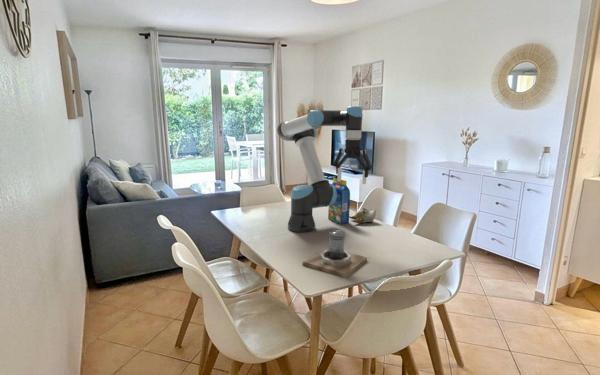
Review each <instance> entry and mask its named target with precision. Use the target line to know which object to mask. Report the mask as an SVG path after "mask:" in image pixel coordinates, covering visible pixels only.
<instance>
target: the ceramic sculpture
mask: <svg viewBox="0 0 600 375" xmlns="http://www.w3.org/2000/svg"><path fill="white" fill-rule="evenodd" d="M376 211H377V209H373V210H371V211H370V210H368V209H367V208H362V209H361V210H360V209H359V210H357V212H356V213H355V215H353V216H350V215H349V219H352V222H353V223H355V224H361V223H362V224H363V223H366V222H370V223H373V222H374V220H375V219H376V213H377V212H376Z"/></svg>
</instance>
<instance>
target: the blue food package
mask: <svg viewBox="0 0 600 375" xmlns="http://www.w3.org/2000/svg"><path fill="white" fill-rule="evenodd" d="M332 178H333V179H332V180H333V182H332V183H331V185H333V186H334V187H335V188H336V191H337V198H336V201H335V203H334V204H333V205H330V206H328V213H327V214H328V215H327V216H328V217H327V219H328V220H330V221H333V222H335V223H336V224H341V225H343V224H349V222H350V218H349V216H350V209H351V208H350V203H351V200H350V199H351V191H350V187H348V186H347V180H345V179H341V181H337V178H336V177H332Z"/></svg>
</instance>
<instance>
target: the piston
mask: <svg viewBox="0 0 600 375" xmlns="http://www.w3.org/2000/svg"><path fill="white" fill-rule="evenodd" d="M328 234H329V236H328V238H329V239H328V248H329V251H328V259H332V260H342V259H343V256H344V251H345V239H346V232H345V230H341V229H331V230H329V232H328Z"/></svg>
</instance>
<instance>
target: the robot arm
mask: <svg viewBox="0 0 600 375" xmlns="http://www.w3.org/2000/svg"><path fill="white" fill-rule="evenodd" d="M363 116H364V115H363V107H362V106H355V105H354V106H353V105H351V106H350V105H349V106H347V107H346V110H339V109H337V110H335V109H334V110H331V109H330V110H329V109H328V110H325V109H322V110H321V109H315V110H314V109H311V110H309V111H308V113H307V114H305V115H302V116H300V117H297V118H294V119H292V120H290V119H286V120H283V121H281V122H280V123H279V124H278V125H277V128H276V132H277V135H278V137H279V138H280V139H282V140H284V141H287V142H289V141H290V142H292V141H293V142H294V144H295V146H296V147H298V148H299V151H300V153H301V154H300V155H301V157H302V160H303V163H304V167H305V170H306V173H307V175H308V176H307V177H308V179H309V182H310V184H301V185H296V186H294V187H293V188H292V189H291V192H290V193H291V194H290V217H289V220H288V221H287V222H288V223H287V230H289V231H291V232H295V233H311V232H312V231H315V230H316V223H315V219H314V216H313V209H317V208H324V207H325V208H327V207H329V206H330V205H333V204H334V203H335V201H336V198H337V191H336V188H335V187H334V186H333V185H332V184H330V180H329V179H327V178H325V174H324V171H323V168H322V166H321V163H320V162H321V161H320V160H319V157H318V154H317V151H316V147H315V145H314V142H315V138H316V135H317V133H316V132H317V129H316V128H320V127H334V126H335V127H345V136H344V137H345V141H344V142H345V143H344V145H345V147H342V148H341V147H339V149H338V153H337V155H336V158H335V159H334V161H333V164H332V166H333V167H335V168H336V170H335V171H336V172H335V173H336V174H335V175H337V176H336V177H337V181H341V180H342V165H343V164H344V163H345V162H347V159H354V160H355V159H356V160H357V161H358V163H359V165H360V166H361V167H362V169H363V171H362V180H361V181H362V185H365V184H367V178H369V171H371V170H372V169H373V166H372V163H371V161H370V158H369V156H368V151H367V149H362V128H363V127H362V125H363ZM344 153H345V155H344V156H343V154H344ZM361 155H362V156H361Z"/></svg>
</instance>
